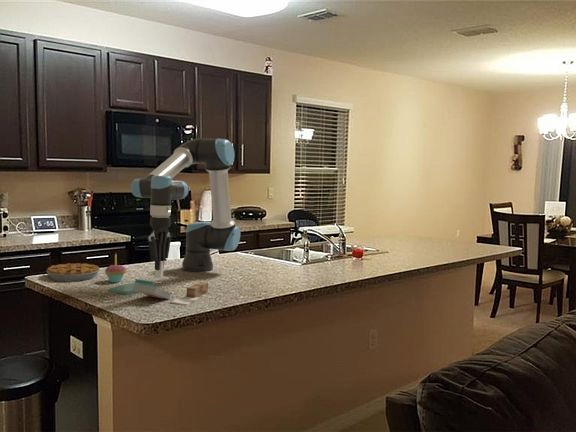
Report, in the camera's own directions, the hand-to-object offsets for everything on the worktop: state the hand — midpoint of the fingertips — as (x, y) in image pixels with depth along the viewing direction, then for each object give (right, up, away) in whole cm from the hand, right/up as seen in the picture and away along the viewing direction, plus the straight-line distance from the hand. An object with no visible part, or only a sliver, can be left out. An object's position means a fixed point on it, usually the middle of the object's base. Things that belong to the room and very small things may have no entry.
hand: (159, 277), depth 202 cm
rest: (-14, -6, +12) cm, 19 cm away
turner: (+12, -8, +3) cm, 15 cm away
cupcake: (-25, -5, +25) cm, 35 cm away
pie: (-45, -3, +30) cm, 54 cm away
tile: (0, -7, +1) cm, 7 cm away
